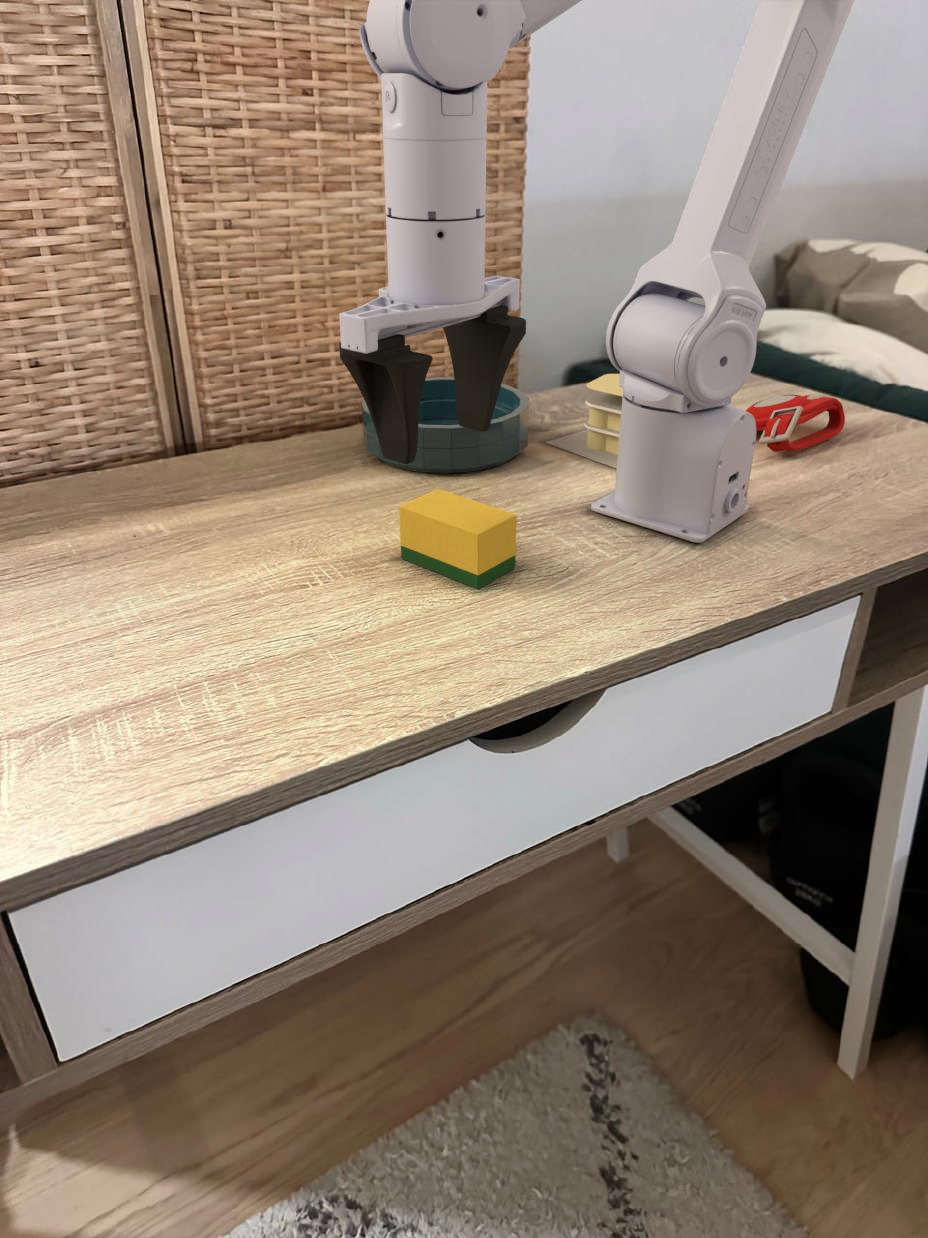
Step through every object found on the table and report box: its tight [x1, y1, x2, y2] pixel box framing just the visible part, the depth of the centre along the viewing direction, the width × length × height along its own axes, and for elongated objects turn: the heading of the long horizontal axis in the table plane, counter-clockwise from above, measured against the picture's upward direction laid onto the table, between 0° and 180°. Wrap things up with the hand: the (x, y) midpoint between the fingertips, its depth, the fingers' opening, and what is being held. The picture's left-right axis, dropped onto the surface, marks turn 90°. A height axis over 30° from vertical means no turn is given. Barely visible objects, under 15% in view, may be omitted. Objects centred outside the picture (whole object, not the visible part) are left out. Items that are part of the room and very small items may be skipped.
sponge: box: [398, 488, 518, 590], centre depth 64 cm, size 7×4×4 cm, turn 50°
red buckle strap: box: [745, 393, 846, 453], centre depth 85 cm, size 12×4×10 cm
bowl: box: [361, 376, 530, 474], centre depth 84 cm, size 15×15×4 cm
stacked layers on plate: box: [545, 373, 623, 470], centre depth 83 cm, size 10×9×6 cm
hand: (438, 443), depth 61 cm, fingers open, 7 cm apart
